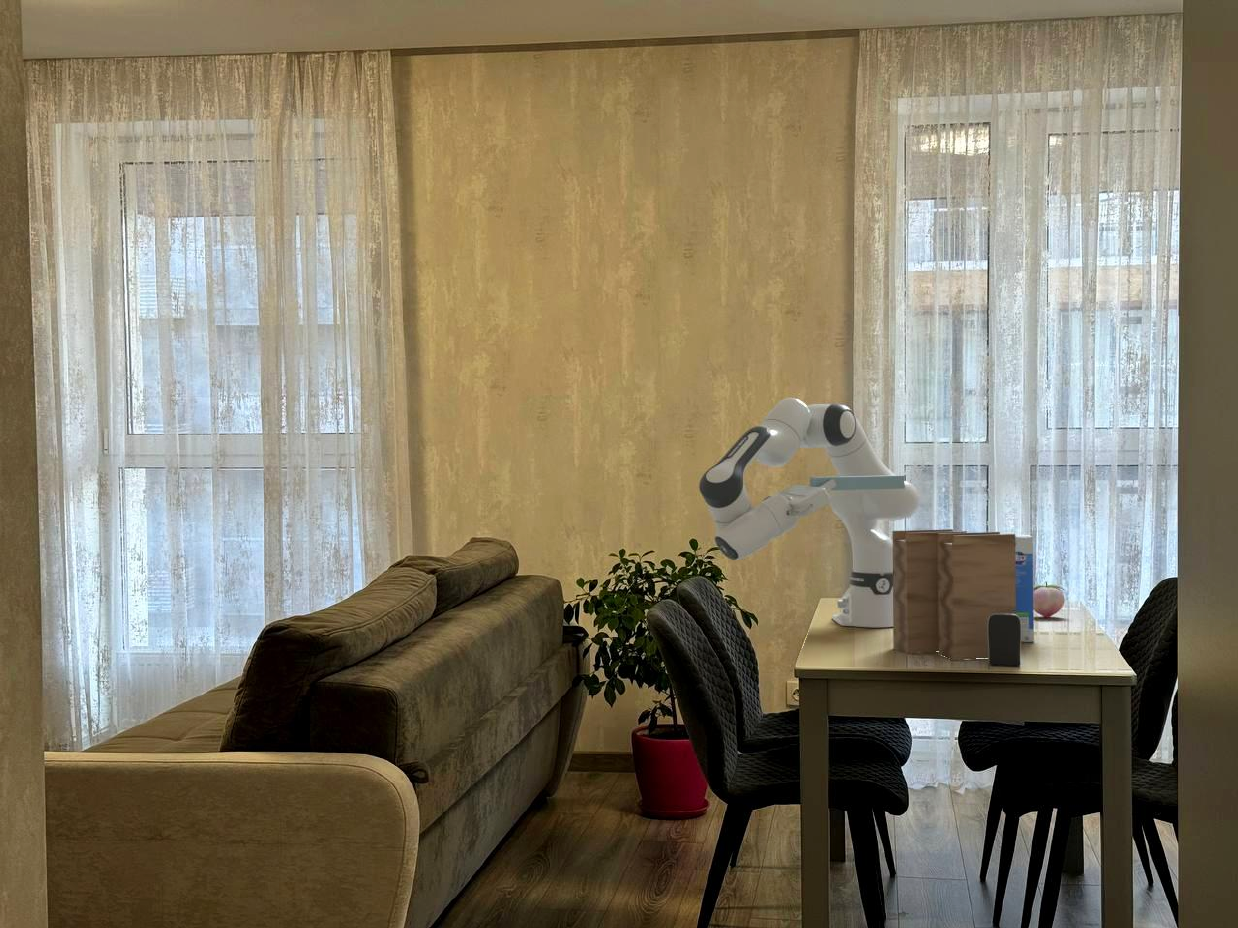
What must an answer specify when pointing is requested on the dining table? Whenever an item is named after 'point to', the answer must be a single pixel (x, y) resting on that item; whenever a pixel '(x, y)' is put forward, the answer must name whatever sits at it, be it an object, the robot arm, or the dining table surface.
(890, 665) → the dining table surface
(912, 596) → the left post
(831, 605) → the dining table surface
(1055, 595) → the decorative fruit
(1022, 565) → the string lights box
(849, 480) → the batten
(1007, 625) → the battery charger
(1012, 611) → the right post
